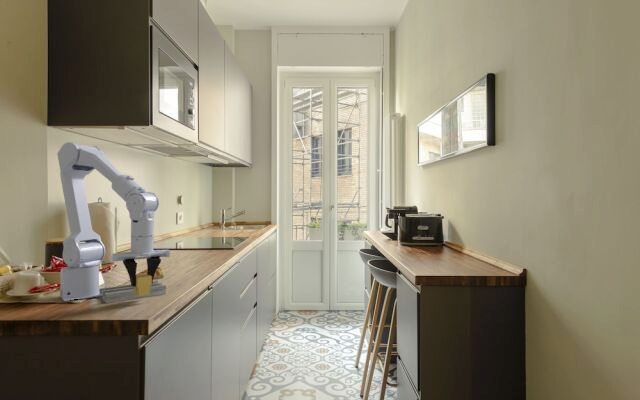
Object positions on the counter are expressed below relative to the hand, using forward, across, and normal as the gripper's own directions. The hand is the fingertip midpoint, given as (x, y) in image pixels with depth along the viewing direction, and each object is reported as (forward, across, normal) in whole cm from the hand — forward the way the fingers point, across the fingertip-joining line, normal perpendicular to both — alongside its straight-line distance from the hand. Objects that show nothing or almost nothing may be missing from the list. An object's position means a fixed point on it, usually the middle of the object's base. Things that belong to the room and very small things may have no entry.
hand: (141, 285), depth 105 cm
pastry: (+5, +12, +29) cm, 32 cm away
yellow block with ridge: (+2, 0, 0) cm, 2 cm away
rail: (+5, 0, +8) cm, 10 cm away
